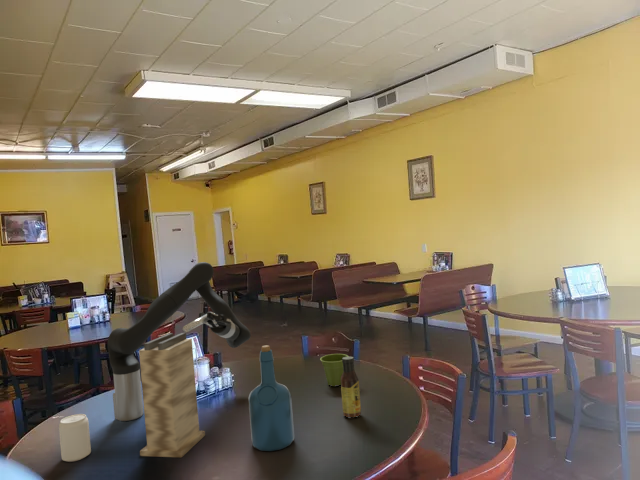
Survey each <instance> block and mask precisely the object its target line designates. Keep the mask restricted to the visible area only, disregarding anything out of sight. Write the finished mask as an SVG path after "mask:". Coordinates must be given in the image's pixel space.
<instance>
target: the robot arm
mask: <svg viewBox="0 0 640 480" xmlns="http://www.w3.org/2000/svg"><path fill="white" fill-rule="evenodd" d="M213 276H214V268H213V265H212V264H211V263H209V262H206V261H201V262H198V263H196V264H195V265H193V267H191V269H190V270H189V271H188V272H187V274H186V275H184V277H183V278H181V279H180V280H178V281H177V282H176V283H175V284H173V285H171V286H170V287H169V288H168V289H166V290H165V291H164V292H162V293H160V294H159V295H158V296H157V297H156V298H155V299H154V300H153V301H152V302H151V303H150V305H149V306H148V308H147V310H146V312H145V314H144V315H143V317H141V319H139V320H138V321H137V322H136V323H135V324H133V325H132V326H131V327H128V328H126V327H119V328H115V329H114V330H112V331H111V332H110V333H109V336H108V338H107V349H108V350H107V351H108V357H109V358H108V359H109V363H110V367H111V368H112V372H113V373H112V375H113V384H114V385H113V386H114V392H113V393H112V402H113V411H114V412H113V413H114V420H117V421H120V422H126V421H133V420H136V419H138V418H141V417H142V416H144V403H143V391H142V380H141V368H140V361H139V360H138V359H137V358H136V357H135V354H134V353H135V352H136V351H137V350H139V349H140V347H142V346H143V345H144V344H145V343H146V341H147V340H148V338H150V336H151V335H152V334H154V332H155V331H156V330H157V329H158V328H160V327H161V326H162V325H163V324H164V323H165V322H167V320H168V319H170V318H171V317H172V316H173V315H174V314H175V313H176V312H177V311H179V309H180V308H181V307H182V306H183V305H184V304H185V303H187V301H188V299H189V298H190V297H191V295H193V294H194V293H195V291H196V292H197V293H198V294H199V295H200V297H201V298H202V299H203V300H204V302H205V303H206V304H207V306H208V307H209V308H210V309H211V311H207V312H206V313H205V312H203V311H201V312H199V314H198V318H200V317H202V316H204V315H206V314H207V318H209V319H210V320H208V321H206V322H205V323H203V324H201V325H200V326H202V325H204V324H205V325H206V326H208V327H209V329H210V330H211V332H212V333H214V334H216V335H217V336H219V337H221V338H223V339H225V340H226V343H227V345H228V346H229V347H230V348H232V349H235V348H238V347H240V346H242V345H243V344H244V343H246V342H247V341H249V340H250V339H251V336H252V333H251V330H250V329H249V328H248V327H247V326H246V325H245V324H243V322H241V321H240V320H239V318H238V317H237V316H236V314H235V313H234V312H233V309H232V308H231V306H229V304H228V303H227V302H226V300H224V299H223V298H222V297H221V296H220V295H218V294H217V293H216V292H215V290H214V289H213V287H212V286H211V284H210V281H211V280H212V278H213ZM211 312H213V313H214V314H212V313H211Z"/></svg>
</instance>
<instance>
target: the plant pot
mask: <svg viewBox="0 0 640 480" xmlns="http://www.w3.org/2000/svg"><path fill="white" fill-rule="evenodd" d="M343 357H350V356H349V355H348V354H344V353H331V354H330V353H329V354H326V355H324V356H321V357H320V359H319V360H320V361H321V364H322V367H323V371H324V374H325V378H326V381H327V385H328V386H329V385H332V386H335V385H341V376H342V374H343V372H344V371H343V362H342V358H343Z"/></svg>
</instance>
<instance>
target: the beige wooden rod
mask: <svg viewBox="0 0 640 480" xmlns="http://www.w3.org/2000/svg"><path fill="white" fill-rule="evenodd" d="M210 312H211V313H212V314H214V312H213V311H210ZM205 314H206V315H204V316H202V317H200V318H199V317H198V318H195V319H194V320H192V321H191V322H189V323H187V324H185V325H183V327H182V328H181V329H182V333H186V334H187V333H188V332H190V331H192V330H194V329H196V328H197V327H199V326H202V325H204V323H205V322H206V321H208V320H210V319H209V318H207V313H205ZM201 324H202V325H201Z"/></svg>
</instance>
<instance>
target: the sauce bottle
mask: <svg viewBox="0 0 640 480" xmlns="http://www.w3.org/2000/svg"><path fill="white" fill-rule="evenodd" d="M342 362H343V371H344V372H343V374H342V376H341V386H340V387H341V388H340V391H341V406H342V412H343V417H344V416H346V417H356V416H359V415H360V414H362V407H361V392H360V381H359V378H358V375H357V373H356V371H355V365H354V364H355V363H354V362H355V358H354V356H349V357H343V358H342ZM360 416H361V415H360ZM360 416H359V417H360ZM346 417H345V418H346Z"/></svg>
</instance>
